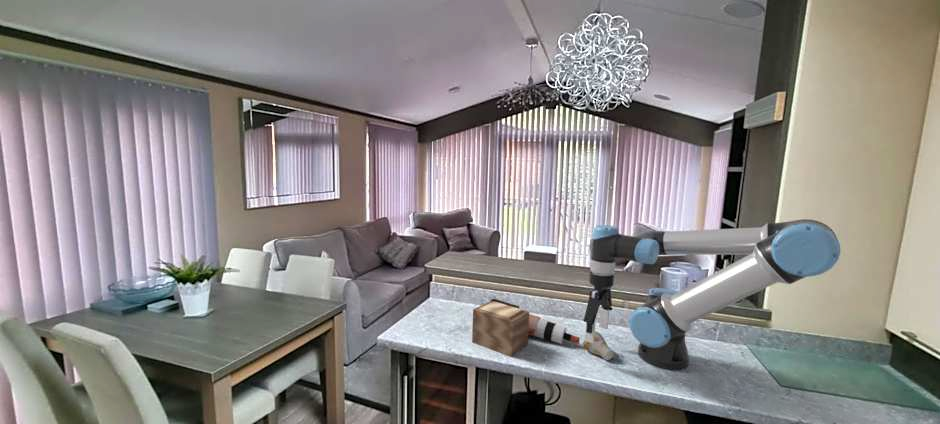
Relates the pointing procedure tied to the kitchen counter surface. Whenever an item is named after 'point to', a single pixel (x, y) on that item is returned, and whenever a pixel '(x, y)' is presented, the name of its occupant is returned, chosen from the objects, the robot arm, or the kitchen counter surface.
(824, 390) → the kitchen counter surface
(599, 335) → the mug
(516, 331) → the plate
